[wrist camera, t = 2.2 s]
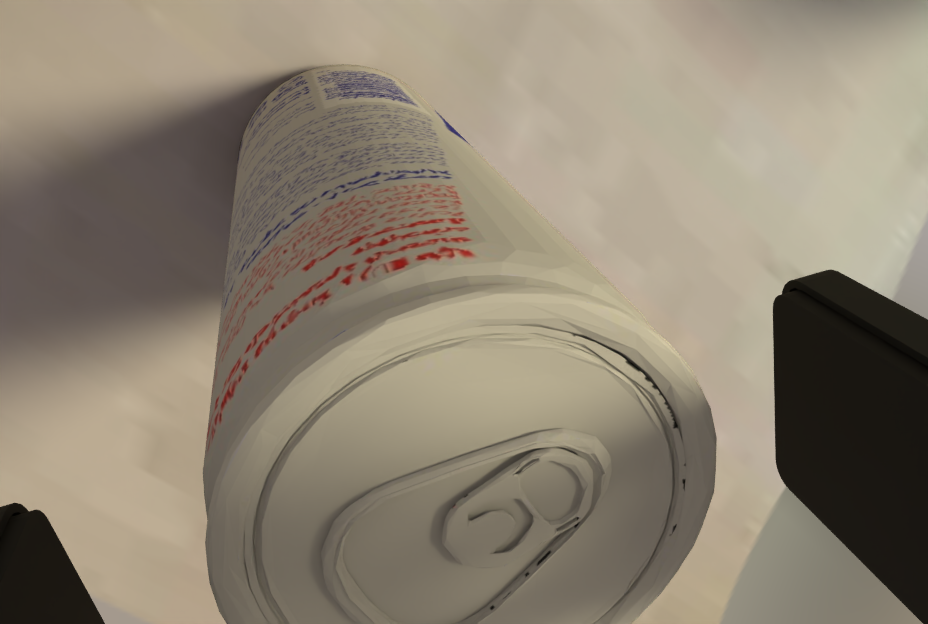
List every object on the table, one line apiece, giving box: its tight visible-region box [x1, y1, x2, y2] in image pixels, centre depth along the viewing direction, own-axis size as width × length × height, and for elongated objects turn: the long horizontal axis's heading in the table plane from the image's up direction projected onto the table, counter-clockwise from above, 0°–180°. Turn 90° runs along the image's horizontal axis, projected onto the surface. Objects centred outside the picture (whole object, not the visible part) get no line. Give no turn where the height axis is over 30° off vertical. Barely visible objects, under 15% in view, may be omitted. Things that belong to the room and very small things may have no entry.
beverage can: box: [203, 64, 716, 624], centre depth 15 cm, size 6×6×15 cm
